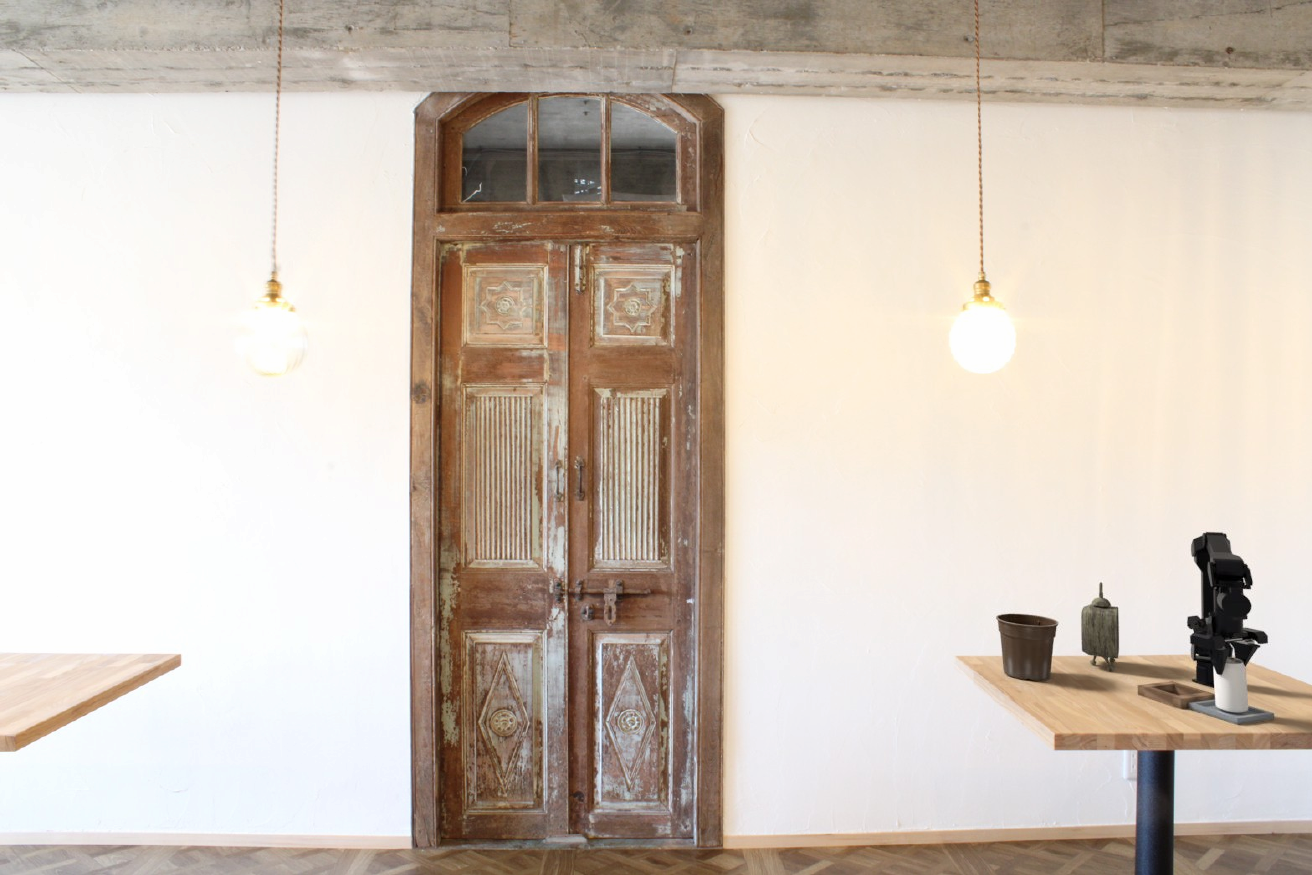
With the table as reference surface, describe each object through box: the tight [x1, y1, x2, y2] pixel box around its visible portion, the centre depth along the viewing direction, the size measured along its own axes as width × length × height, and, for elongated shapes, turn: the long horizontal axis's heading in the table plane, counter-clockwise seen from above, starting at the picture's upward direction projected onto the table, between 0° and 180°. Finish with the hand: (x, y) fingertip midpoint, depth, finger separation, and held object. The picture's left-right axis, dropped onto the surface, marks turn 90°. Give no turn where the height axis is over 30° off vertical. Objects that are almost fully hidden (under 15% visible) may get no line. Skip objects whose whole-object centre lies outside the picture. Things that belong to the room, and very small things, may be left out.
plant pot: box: [995, 613, 1059, 682], centre depth 222 cm, size 16×16×16 cm
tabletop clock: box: [1080, 582, 1120, 672], centre depth 232 cm, size 14×9×25 cm, turn 147°
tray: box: [1188, 699, 1275, 726], centre depth 189 cm, size 12×12×2 cm
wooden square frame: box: [1137, 680, 1215, 710], centre depth 200 cm, size 12×12×2 cm
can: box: [1213, 656, 1249, 713], centre depth 189 cm, size 6×6×12 cm
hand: (1229, 673), depth 189 cm, fingers closed on can, 6 cm apart
